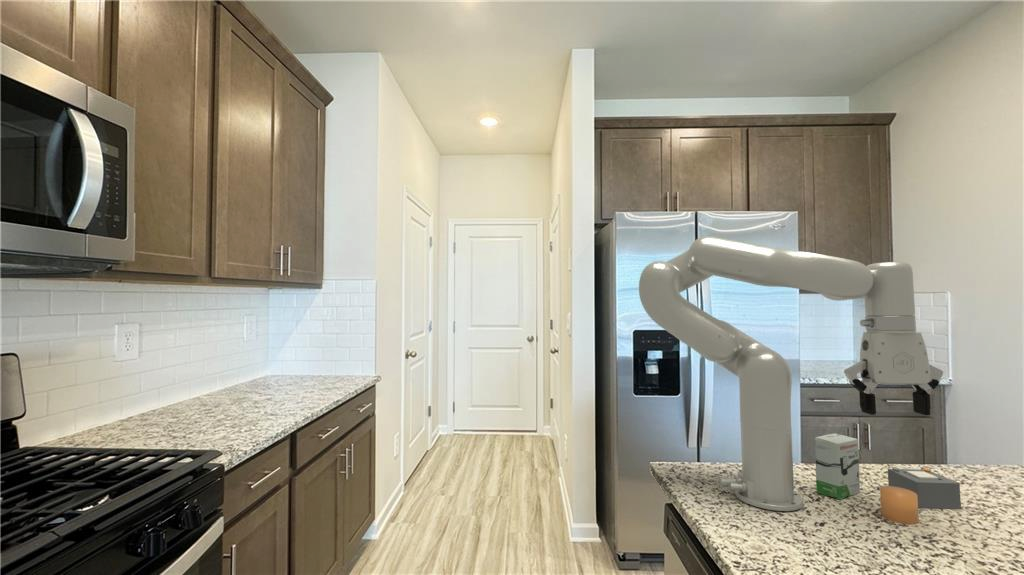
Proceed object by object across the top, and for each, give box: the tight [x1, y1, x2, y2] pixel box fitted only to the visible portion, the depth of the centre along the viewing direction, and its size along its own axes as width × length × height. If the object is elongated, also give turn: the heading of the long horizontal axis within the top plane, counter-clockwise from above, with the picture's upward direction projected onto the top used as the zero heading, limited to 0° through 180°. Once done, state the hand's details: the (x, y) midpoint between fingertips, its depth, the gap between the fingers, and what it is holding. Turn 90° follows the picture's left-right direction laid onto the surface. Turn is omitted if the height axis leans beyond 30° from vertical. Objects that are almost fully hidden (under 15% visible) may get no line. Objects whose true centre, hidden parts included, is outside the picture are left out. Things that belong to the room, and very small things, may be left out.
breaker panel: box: [887, 466, 962, 510], centre depth 95 cm, size 8×8×6 cm
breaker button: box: [906, 471, 939, 480], centre depth 95 cm, size 4×4×4 cm
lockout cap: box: [879, 485, 920, 526], centre depth 87 cm, size 6×6×5 cm
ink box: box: [814, 433, 861, 500], centre depth 100 cm, size 9×5×12 cm, turn 117°
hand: (895, 413), depth 88 cm, fingers open, 9 cm apart
